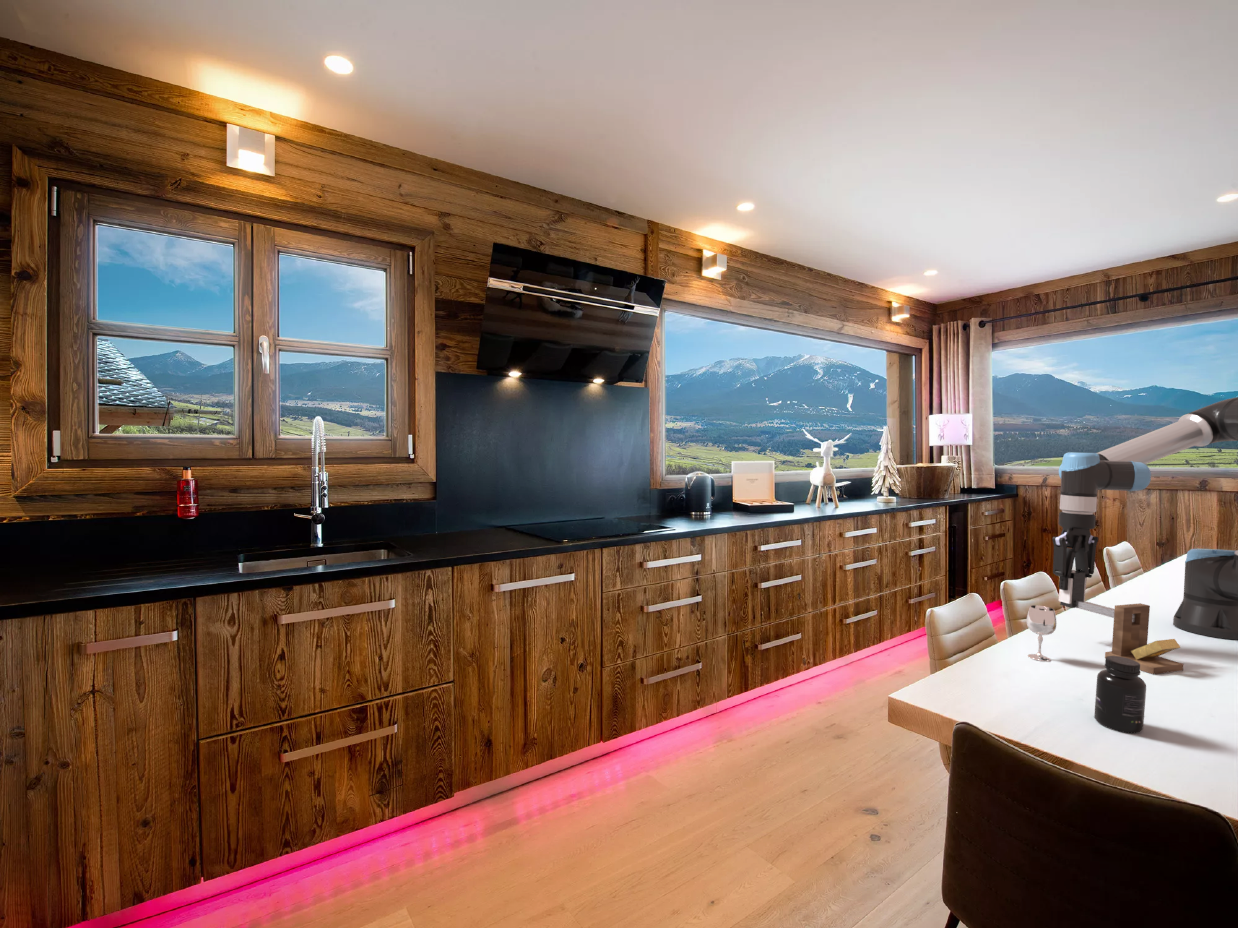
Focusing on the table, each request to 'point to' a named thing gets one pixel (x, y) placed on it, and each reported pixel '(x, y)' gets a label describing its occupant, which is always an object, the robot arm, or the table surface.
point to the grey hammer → (1079, 597)
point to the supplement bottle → (1120, 695)
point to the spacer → (1155, 649)
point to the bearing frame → (1137, 638)
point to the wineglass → (1041, 626)
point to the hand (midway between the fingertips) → (1071, 601)
